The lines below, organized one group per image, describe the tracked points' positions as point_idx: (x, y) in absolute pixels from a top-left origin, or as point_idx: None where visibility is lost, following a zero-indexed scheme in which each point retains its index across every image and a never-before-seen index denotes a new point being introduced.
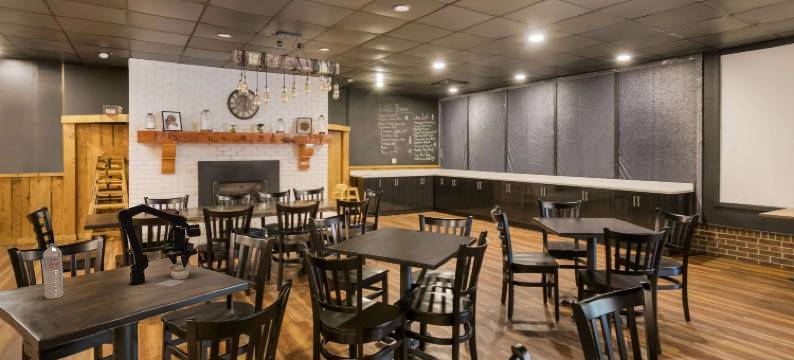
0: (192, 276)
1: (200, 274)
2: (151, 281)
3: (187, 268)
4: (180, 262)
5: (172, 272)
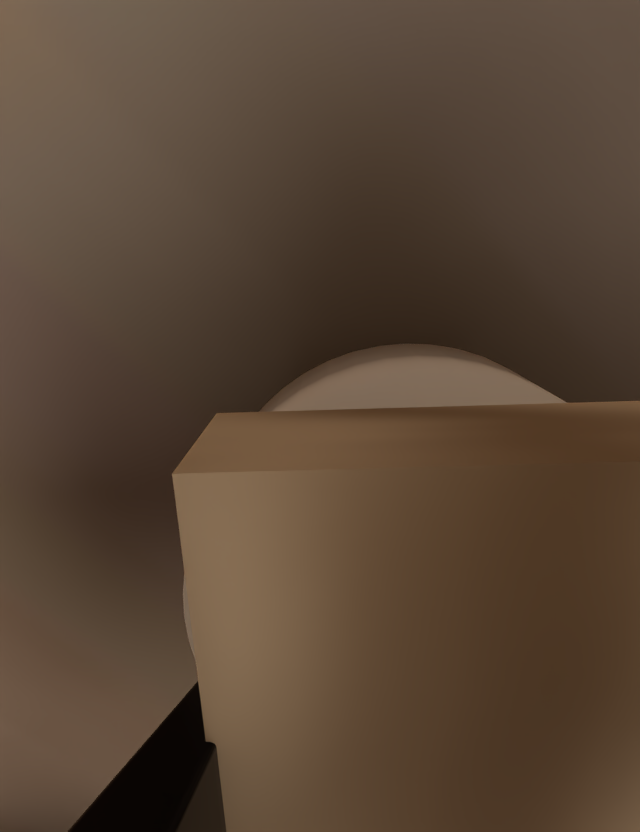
0: (547, 292)
1: (629, 51)
2: (86, 782)
3: (527, 402)
4: (212, 548)
5: None
